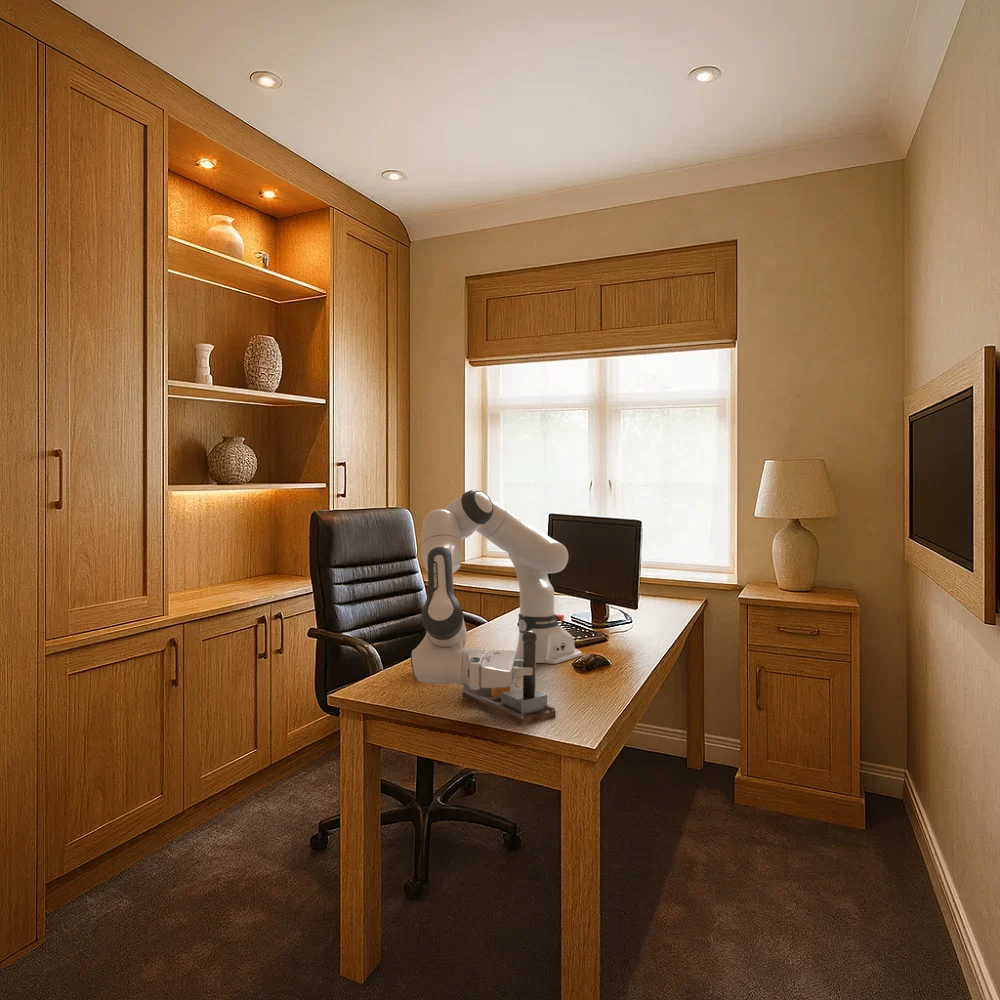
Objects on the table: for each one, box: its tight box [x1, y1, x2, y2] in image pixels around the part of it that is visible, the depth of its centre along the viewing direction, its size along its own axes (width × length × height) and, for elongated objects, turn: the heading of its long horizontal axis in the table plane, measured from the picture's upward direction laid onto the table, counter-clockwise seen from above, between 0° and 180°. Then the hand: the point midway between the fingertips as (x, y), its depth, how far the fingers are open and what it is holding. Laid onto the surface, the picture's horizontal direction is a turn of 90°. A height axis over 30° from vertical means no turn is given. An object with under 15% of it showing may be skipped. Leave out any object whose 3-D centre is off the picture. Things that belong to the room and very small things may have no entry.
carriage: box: [501, 630, 548, 715], centre depth 170 cm, size 8×8×20 cm
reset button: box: [491, 685, 512, 698], centre depth 178 cm, size 5×2×2 cm, turn 126°
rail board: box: [461, 688, 557, 727], centre depth 176 cm, size 11×25×2 cm, turn 36°
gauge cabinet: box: [463, 685, 491, 696], centre depth 184 cm, size 10×6×5 cm, turn 126°
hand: (533, 668), depth 169 cm, fingers closed on carriage, 3 cm apart
